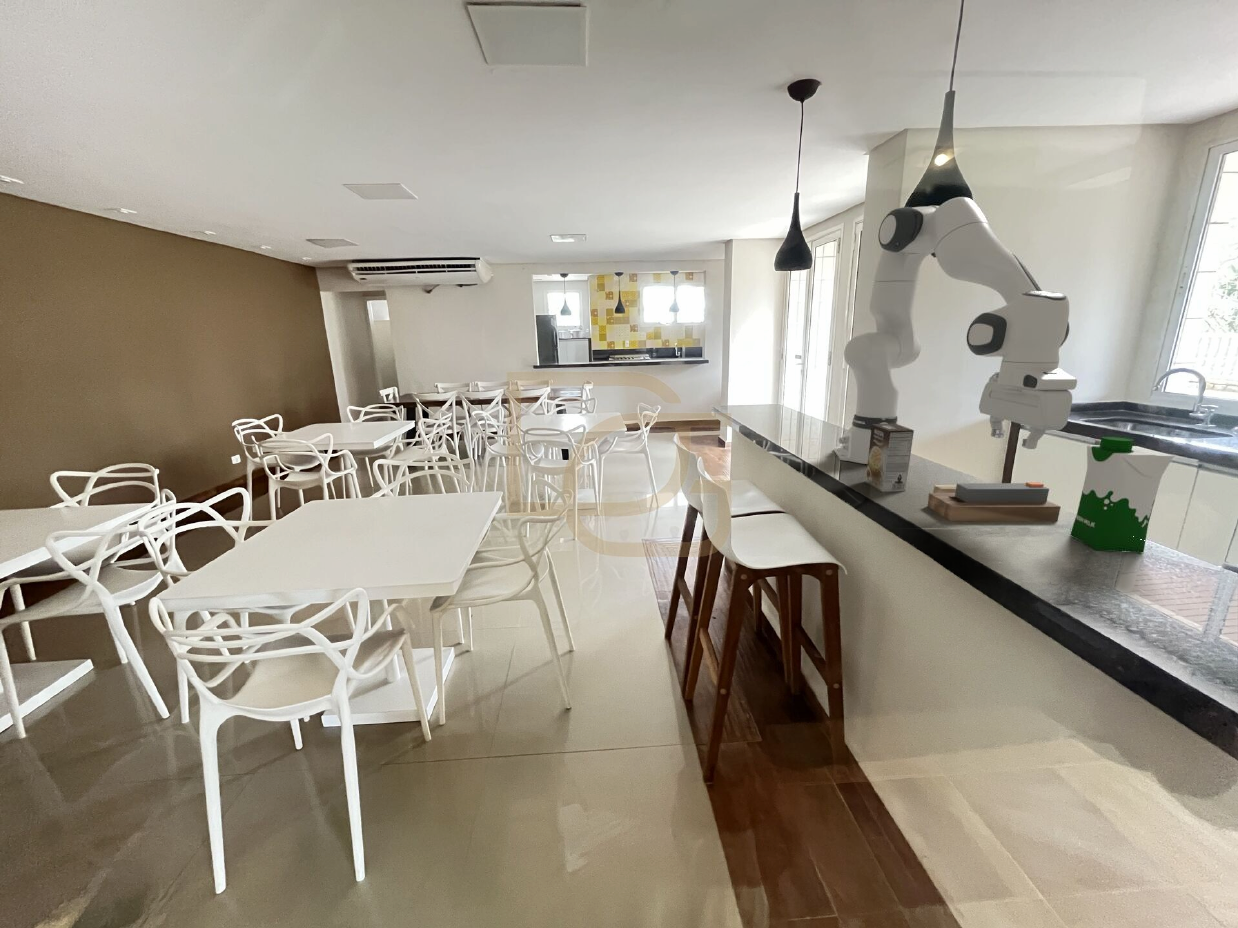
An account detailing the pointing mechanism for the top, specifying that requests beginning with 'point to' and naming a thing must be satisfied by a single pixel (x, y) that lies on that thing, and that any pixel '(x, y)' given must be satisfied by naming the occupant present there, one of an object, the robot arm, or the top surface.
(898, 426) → the coffee box
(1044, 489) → the grey bar
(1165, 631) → the top surface
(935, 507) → the keyhole board
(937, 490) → the block
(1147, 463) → the milk carton
